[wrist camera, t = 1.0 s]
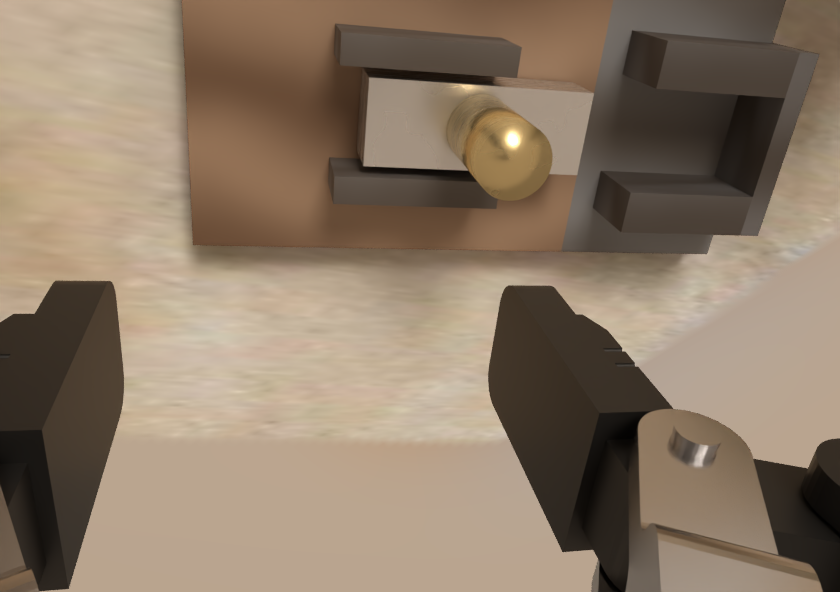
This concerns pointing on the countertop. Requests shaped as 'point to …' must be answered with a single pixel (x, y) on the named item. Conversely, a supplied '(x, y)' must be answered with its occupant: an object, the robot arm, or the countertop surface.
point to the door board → (499, 57)
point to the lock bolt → (473, 126)
